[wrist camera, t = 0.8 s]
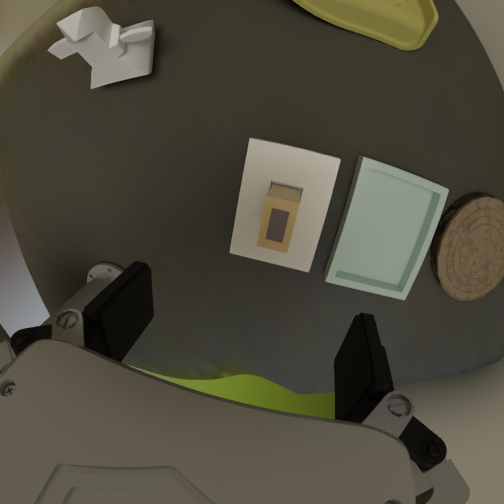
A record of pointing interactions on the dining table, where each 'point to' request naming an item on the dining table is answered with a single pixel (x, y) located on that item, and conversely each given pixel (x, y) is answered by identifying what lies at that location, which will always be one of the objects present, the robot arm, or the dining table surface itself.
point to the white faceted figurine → (107, 45)
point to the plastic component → (380, 18)
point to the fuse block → (292, 175)
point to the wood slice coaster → (469, 246)
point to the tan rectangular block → (279, 218)
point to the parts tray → (384, 229)
